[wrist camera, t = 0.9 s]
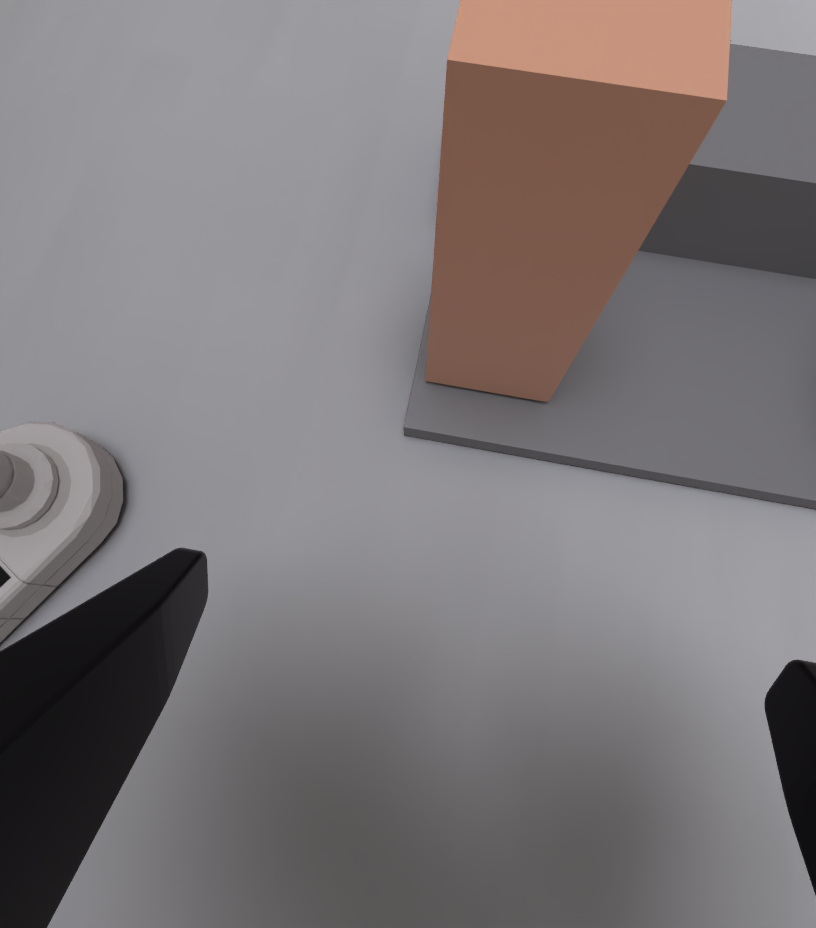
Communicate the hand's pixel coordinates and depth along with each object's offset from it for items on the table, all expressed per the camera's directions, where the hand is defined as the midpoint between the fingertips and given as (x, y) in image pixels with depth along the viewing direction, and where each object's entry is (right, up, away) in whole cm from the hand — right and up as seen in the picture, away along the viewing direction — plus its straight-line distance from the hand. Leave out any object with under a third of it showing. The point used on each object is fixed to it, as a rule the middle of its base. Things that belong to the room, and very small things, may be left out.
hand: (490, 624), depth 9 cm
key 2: (+2, +7, +15) cm, 17 cm away
